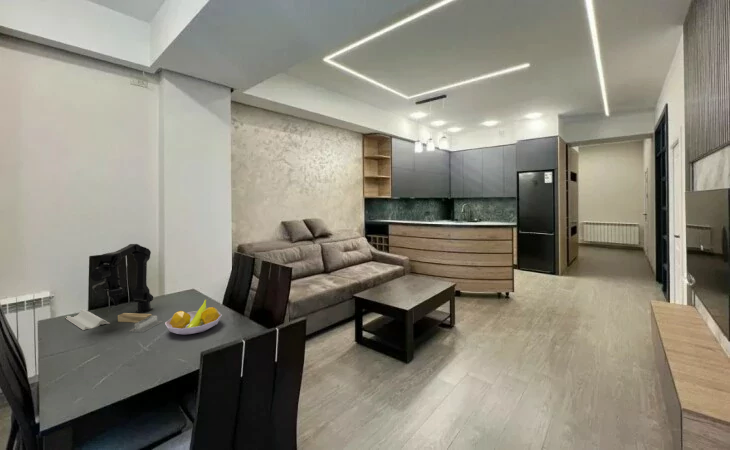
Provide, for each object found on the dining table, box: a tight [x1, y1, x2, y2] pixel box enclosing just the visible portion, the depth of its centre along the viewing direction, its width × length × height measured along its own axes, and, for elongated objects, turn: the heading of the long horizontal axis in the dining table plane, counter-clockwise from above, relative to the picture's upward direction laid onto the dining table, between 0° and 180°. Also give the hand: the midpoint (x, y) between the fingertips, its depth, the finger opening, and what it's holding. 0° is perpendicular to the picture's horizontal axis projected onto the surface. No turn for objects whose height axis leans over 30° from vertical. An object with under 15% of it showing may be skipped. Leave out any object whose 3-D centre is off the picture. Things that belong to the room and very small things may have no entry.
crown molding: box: [65, 309, 111, 331], centre depth 177 cm, size 31×12×4 cm, turn 57°
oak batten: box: [117, 312, 153, 324], centre depth 177 cm, size 4×18×4 cm, turn 83°
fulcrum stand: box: [128, 314, 164, 333], centre depth 168 cm, size 14×8×4 cm, turn 175°
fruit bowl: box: [164, 299, 223, 336], centre depth 166 cm, size 28×27×11 cm
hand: (114, 303), depth 169 cm, fingers open, 9 cm apart
